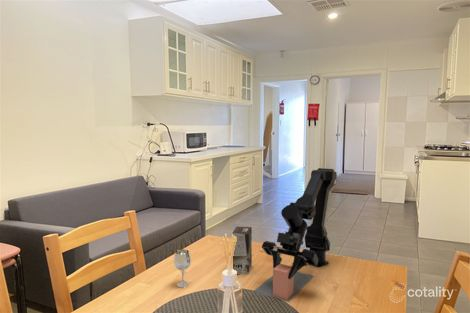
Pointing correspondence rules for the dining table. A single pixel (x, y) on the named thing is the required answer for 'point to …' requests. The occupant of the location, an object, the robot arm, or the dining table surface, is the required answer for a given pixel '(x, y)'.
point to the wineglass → (182, 264)
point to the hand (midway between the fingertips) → (281, 276)
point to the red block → (282, 282)
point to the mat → (299, 283)
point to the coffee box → (243, 250)
